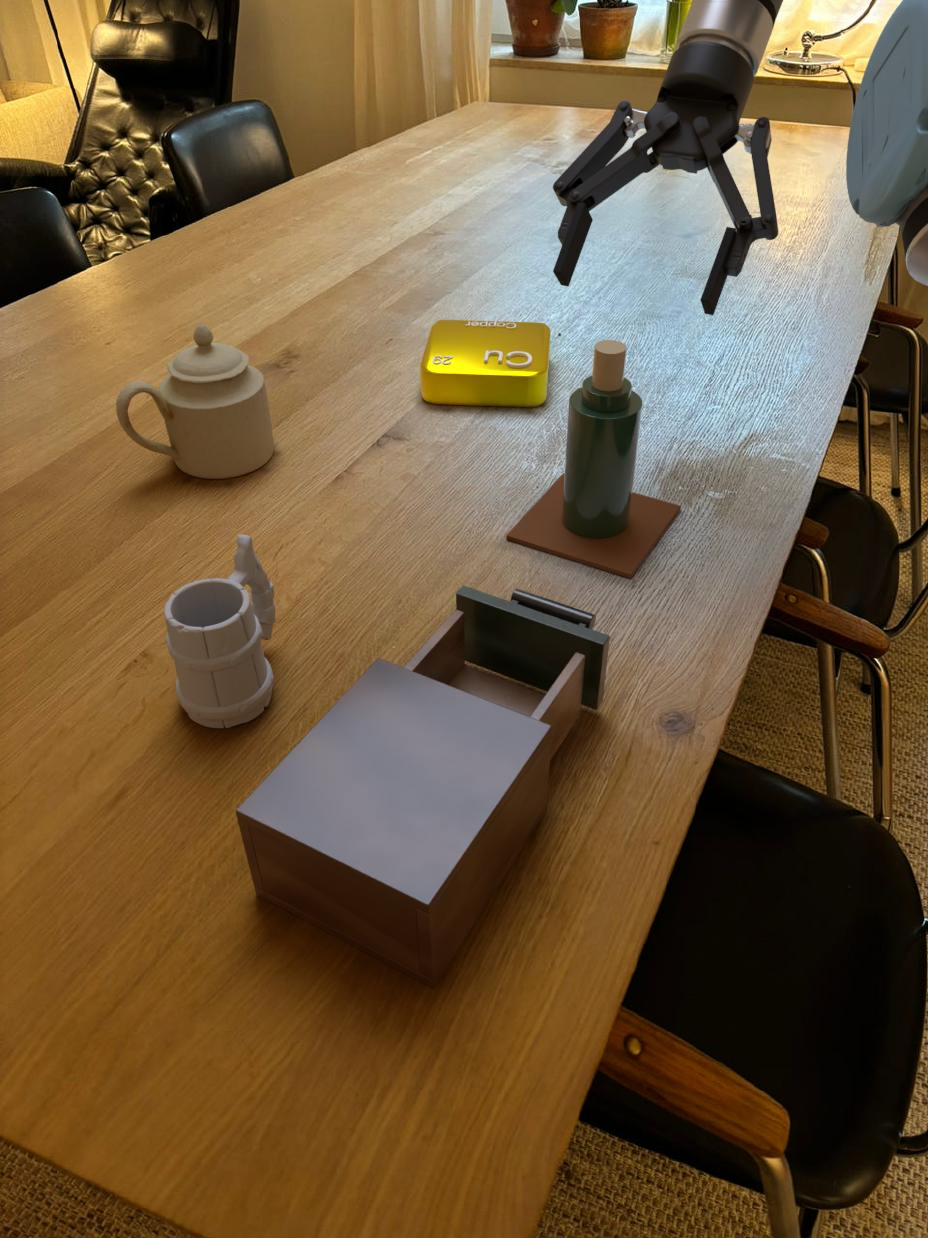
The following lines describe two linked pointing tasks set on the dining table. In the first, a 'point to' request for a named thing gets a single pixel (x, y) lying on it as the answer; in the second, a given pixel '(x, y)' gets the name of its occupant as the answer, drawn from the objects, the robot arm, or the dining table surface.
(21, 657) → the dining table surface
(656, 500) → the cork mat
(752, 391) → the dining table surface
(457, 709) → the cabinet
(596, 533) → the oil bottle
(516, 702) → the drawer
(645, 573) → the dining table surface
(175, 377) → the sugar bowl
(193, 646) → the mug
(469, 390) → the element tile
